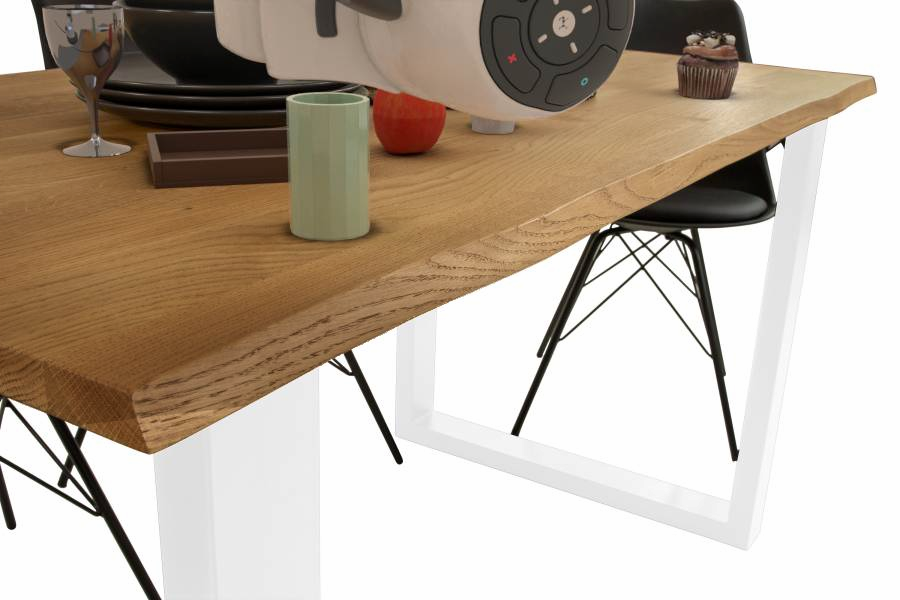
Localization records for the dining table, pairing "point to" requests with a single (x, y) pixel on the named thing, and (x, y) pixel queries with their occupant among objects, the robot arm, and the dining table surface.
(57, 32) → the wine glass
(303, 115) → the cup
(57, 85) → the dining table surface
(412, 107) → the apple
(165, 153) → the tray
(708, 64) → the cupcake
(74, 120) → the dining table surface
